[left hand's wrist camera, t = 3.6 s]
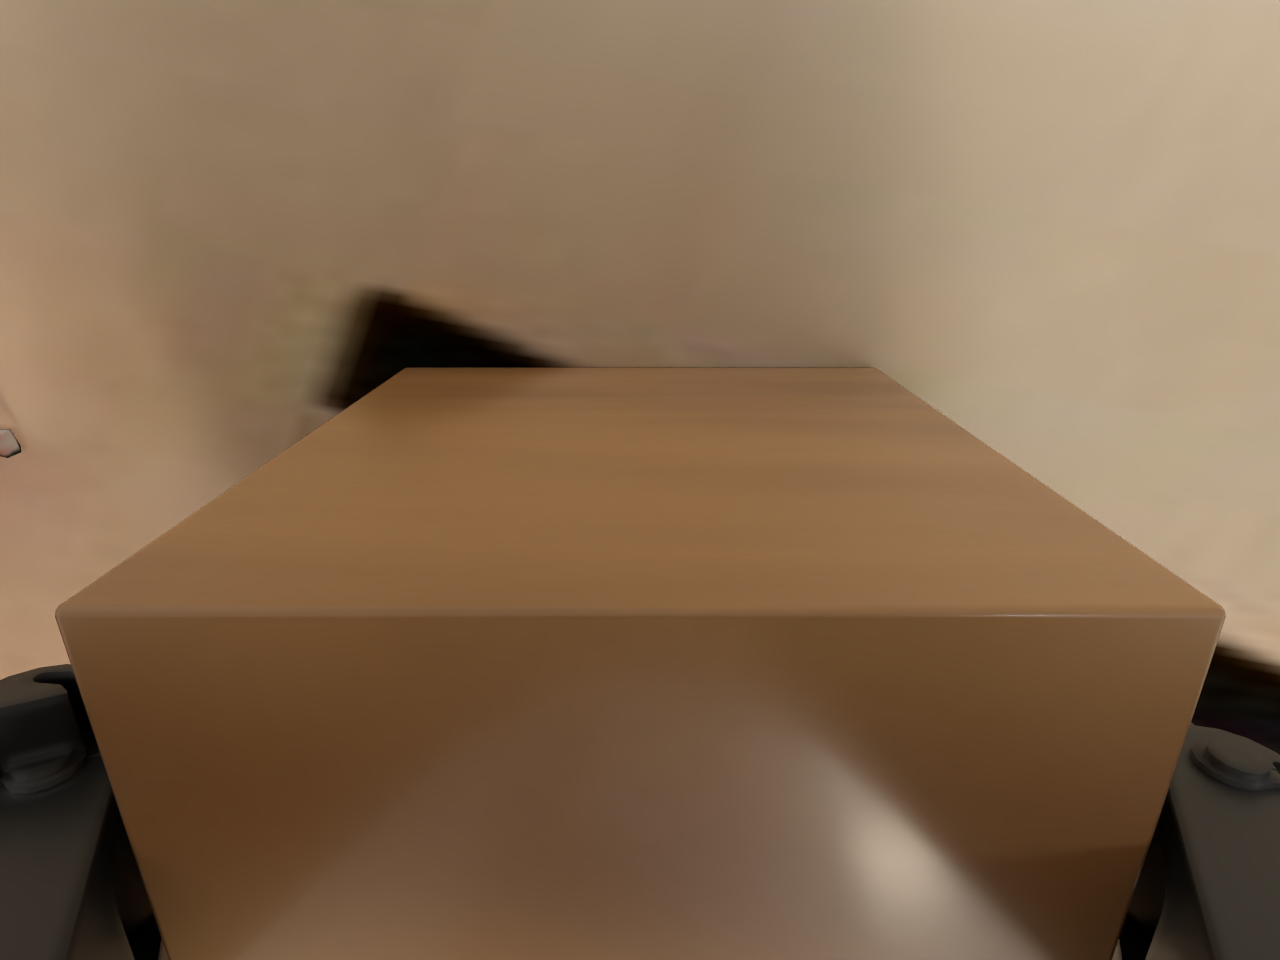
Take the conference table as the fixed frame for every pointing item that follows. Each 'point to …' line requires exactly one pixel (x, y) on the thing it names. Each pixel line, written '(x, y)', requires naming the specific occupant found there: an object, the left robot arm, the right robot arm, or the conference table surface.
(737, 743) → the box
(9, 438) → the fish
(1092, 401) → the conference table surface
